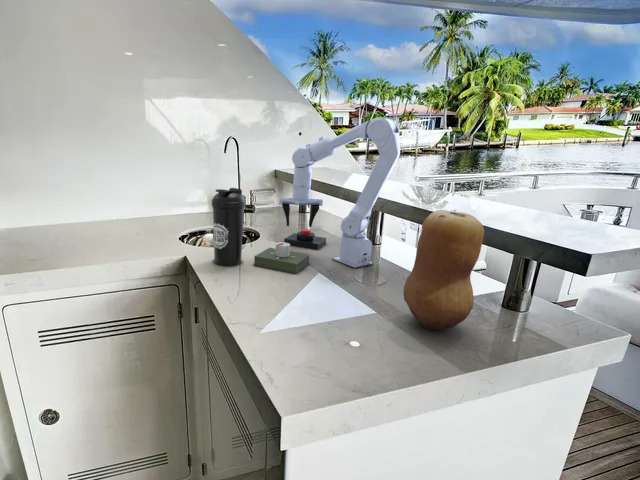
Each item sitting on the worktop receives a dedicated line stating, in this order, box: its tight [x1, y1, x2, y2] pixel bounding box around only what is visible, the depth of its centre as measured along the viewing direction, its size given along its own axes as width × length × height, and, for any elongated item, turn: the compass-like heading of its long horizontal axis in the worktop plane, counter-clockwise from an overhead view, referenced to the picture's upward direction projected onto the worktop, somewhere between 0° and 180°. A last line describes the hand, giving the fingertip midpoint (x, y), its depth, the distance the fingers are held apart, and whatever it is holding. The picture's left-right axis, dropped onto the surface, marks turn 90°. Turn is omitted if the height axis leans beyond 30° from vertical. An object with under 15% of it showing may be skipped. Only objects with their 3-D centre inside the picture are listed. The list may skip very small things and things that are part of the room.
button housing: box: [283, 231, 327, 250], centre depth 142 cm, size 13×10×4 cm
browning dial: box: [275, 241, 291, 257], centre depth 118 cm, size 4×4×4 cm
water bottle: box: [211, 187, 246, 267], centre depth 117 cm, size 10×10×23 cm
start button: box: [300, 228, 312, 235], centre depth 141 cm, size 4×4×2 cm
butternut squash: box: [403, 209, 485, 331], centre depth 79 cm, size 14×13×25 cm
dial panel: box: [253, 247, 310, 274], centre depth 119 cm, size 14×11×3 cm
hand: (298, 225), depth 131 cm, fingers open, 7 cm apart
